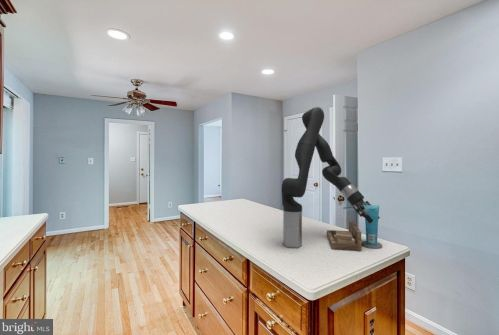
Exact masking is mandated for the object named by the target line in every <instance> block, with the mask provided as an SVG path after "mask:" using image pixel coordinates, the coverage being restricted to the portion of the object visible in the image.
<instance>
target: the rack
mask: <svg viewBox="0 0 499 335" xmlns="http://www.w3.org/2000/svg"><path fill="white" fill-rule="evenodd" d="M336 231H337V230H332V229H331V230H330V229H329V230H327V229H326V236H327V239H328V242H329V245H330V248H331V250H334V251H335V250H336V251H337V250H338V251H351V252H353V251H354V252H362V231H361V230H360V229H359V227H358V225H356V224H355V222H353V220H350V219H349V220H348V230H338V231H339V232H350V233H351V235H352V237H353V238H354V240H355V243H339V242H335V241H334V235H336Z"/></svg>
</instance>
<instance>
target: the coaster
mask: <svg viewBox="0 0 499 335" xmlns="http://www.w3.org/2000/svg"><path fill="white" fill-rule="evenodd" d="M361 246H362V247H365V248H367V249H373V250H378V249H382V248H383V245H382V244H381V243H380V242H378V241H377V245H369V244H367V243H366V240H364V241H361Z"/></svg>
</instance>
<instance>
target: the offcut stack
mask: <svg viewBox="0 0 499 335" xmlns="http://www.w3.org/2000/svg"><path fill="white" fill-rule="evenodd" d="M335 231H336V235H334V241H335V242H339V243H355V240H354V238H353V237H352V235H351V233H350V232H339V231H340V230H335Z"/></svg>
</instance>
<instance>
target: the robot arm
mask: <svg viewBox="0 0 499 335" xmlns="http://www.w3.org/2000/svg"><path fill="white" fill-rule="evenodd" d="M301 119H302V121H301V122H302V123H303V126H304V127H305V131H304V133H303V134H302V135H301V137H300V139H299V140H298V141H297V145H296V147H295V152H294V157H295V162H296V164H297V166H298V175H297V178H295V177H287V178H286V177H285V178H284V179H283V180H282V184H281V201H282V202H281V204H282V208H283V209H282V210H283V212H282V213H283V215H282V216H283V217H282V218H283V219H282V221H283V222H282V224H283V225H282V226H283V228H282V229H283V230H282V236H283V237H282V240H283V241H282V244H283V246H285V248H294V249H296V248H297V249H300V247H302V246H303V205H302V204H301V203H299V202H297V200H295V199H294V198H300V199H301V198H302V197H304V196H305V193H306V192H307V191H306V190H307V186H308V185H307V184H308V180H309V179H308V178H309V172H310V168H311V164H312V160H313V156H314V153H315V149H316V151H317V154H318V157H319V160H320V161H321V163H327V164H328V166H325V167H323V168H322V170H321V173H322V176H323V178H324V179H325V180H326V181H327V182H329V183H330V184H331V185H333V186H334V187H336V189H337V190H338V191H339V192H340V193H341V194H342V196H343V198H345V200H346V201H347V202H348V203H349V205H350V206H352V208H353V209H354V211H355V212H356V213H357V214H358V215H359V217H361V218H362V217H363V218H364V220H365V219H366V220H367V221H368V222H369V223H371V222H373V219H372V218H371V217H370V216H369V215H367V209H366V208H365V207H364V205H372V204H371V203H370V202H369V201H368V200H366V201H365V200H364V199H365V196H364V195H363V194H362V193H361V192H360V191H359V190H358V188H357V187H356V186H355V185H353V184H352V182H351V181H350V180H349V179H348V178H347V177H345V176H340V175H341V174H342V167H341V165H340V163H339V162H338V161H337V160H336V158H335V156H334V154H333V152H332V149H331V146H330V145H329V143H328V142H327V140H326V139H325V138H323V137H322V135H321V134H320V131H321V128H322V126H323V124H324V121H325V113H324V110H323V109H322V108H321V107H318V106H316V107H313V108H311V109H309V110H307V111H305V112H304V113H303V114H302V117H301ZM380 218H381V217H380V216H378V220H379V219H380Z"/></svg>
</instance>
